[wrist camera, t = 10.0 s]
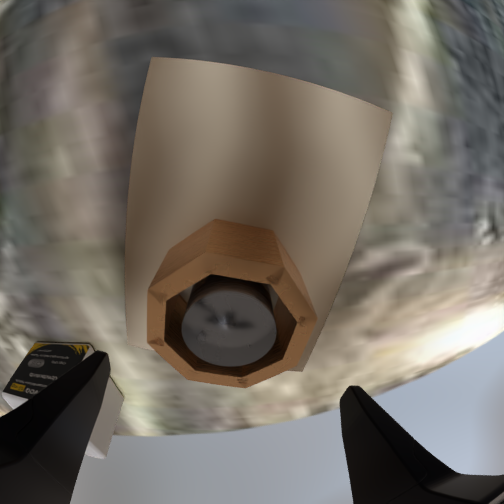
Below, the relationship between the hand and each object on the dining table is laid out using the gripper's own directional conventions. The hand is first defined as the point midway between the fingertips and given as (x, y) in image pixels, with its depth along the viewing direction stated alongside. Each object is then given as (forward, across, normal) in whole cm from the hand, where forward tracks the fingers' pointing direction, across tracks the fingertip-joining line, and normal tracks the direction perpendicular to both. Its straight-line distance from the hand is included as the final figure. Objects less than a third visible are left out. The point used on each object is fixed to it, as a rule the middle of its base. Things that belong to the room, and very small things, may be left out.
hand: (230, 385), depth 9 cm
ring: (+7, 0, 0) cm, 7 cm away
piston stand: (+8, 0, -3) cm, 9 cm away
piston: (+7, 0, 0) cm, 7 cm away
